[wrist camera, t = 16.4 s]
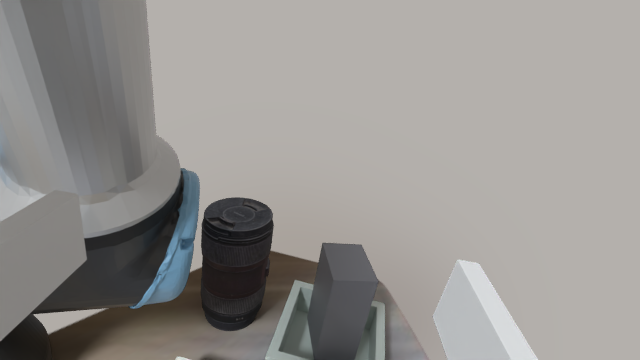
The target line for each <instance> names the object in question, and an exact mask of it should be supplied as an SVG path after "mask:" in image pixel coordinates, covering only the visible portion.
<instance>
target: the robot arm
mask: <svg viewBox="0 0 640 360" xmlns="http://www.w3.org/2000/svg"><path fill="white" fill-rule="evenodd" d="M199 195H200V185H199V178H198V176H197V174H196V173H194V172H192V171H187V170H186V169H184V168H180V164H179V160H178V157H177V154H176V153H175V151H174V150H173V148H172V147H171V146H170V145H169V144H168V143H167V142H166V141H164V140H163V139H162V138H161V137H159V136H157V135H156V127H155V114H154V101H153V88H152V75H151V61H150V49H149V35H148V23H147V9H146V0H0V360H52V353H51V347H50V342H49V337H48V334H47V331H46V329H45V328H44V326H43V324H42V323H41V322H40V321H39V320H38V319H37V318H36V317H35V316H34V315H33V314H39V313H52V312H64V311H76V310H89V309H102V308H114V307H126V306H128V307H129V308H133V309H134V308H140V307H141V306H143V305H148V304H155V303H162V302H168V301H171V300H173V299H175V298H176V297H178V296H179V295H180V294H181V292H182V291H183V290H184V288H185V286H186V283H187V280H188V276H189V272H190V267H191V262H192V256H193V248H194V244H193V241H194V239H195V233H196V228H197V221H198V210H199ZM433 319H434V322H435V325H436V328H437V331H438V334H439V336H440V339H441V343H442V345H443V348H444V351H445V354H446V357H447V360H538V359H537V358H536V356H535V354H534V352H533V351H532V350H531V348H530V346H529V344H528V343H527V341H526V339H525V338H524V336H523V335H522V333H521V331H520V330H519V328H518V327H517V325H516V323H515V322H514V320H513V318H512V317H511V315H510V313H509V312H508V310H507V309H506V307H505V305H504V304H503V302H502V300H501V299H500V297H499V296H498V294H497V292H496V291H495V289H494V287H493V286H492V284H491V283H490V281H489V279H488V278H487V276H486V274H485V273H484V271H483V270H482V268H481V267H480V265H479V263H474V262H469V261H463V260H457V262H456V264H455V266H454V269H453V271H452V273H451V275H450V278H449V280H448V282H447V285H446V287H445V289H444V292H443V294H442V297H441V299H440V301H439V303H438V305H437V308H436V310H435V312H434V315H433Z"/></svg>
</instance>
